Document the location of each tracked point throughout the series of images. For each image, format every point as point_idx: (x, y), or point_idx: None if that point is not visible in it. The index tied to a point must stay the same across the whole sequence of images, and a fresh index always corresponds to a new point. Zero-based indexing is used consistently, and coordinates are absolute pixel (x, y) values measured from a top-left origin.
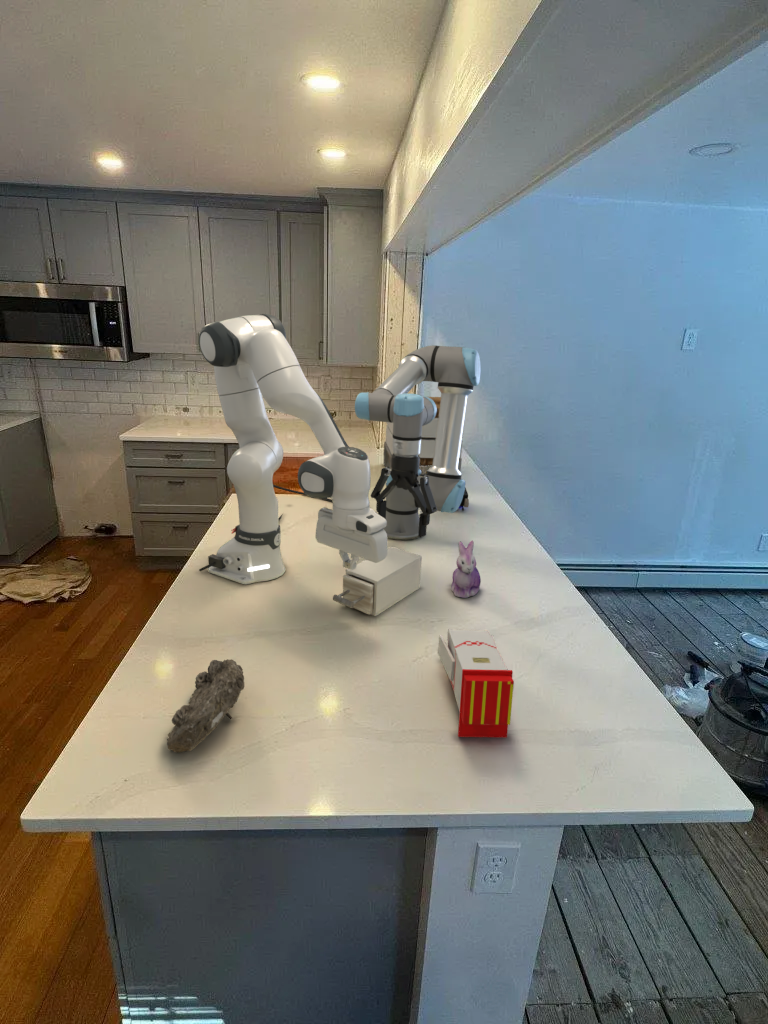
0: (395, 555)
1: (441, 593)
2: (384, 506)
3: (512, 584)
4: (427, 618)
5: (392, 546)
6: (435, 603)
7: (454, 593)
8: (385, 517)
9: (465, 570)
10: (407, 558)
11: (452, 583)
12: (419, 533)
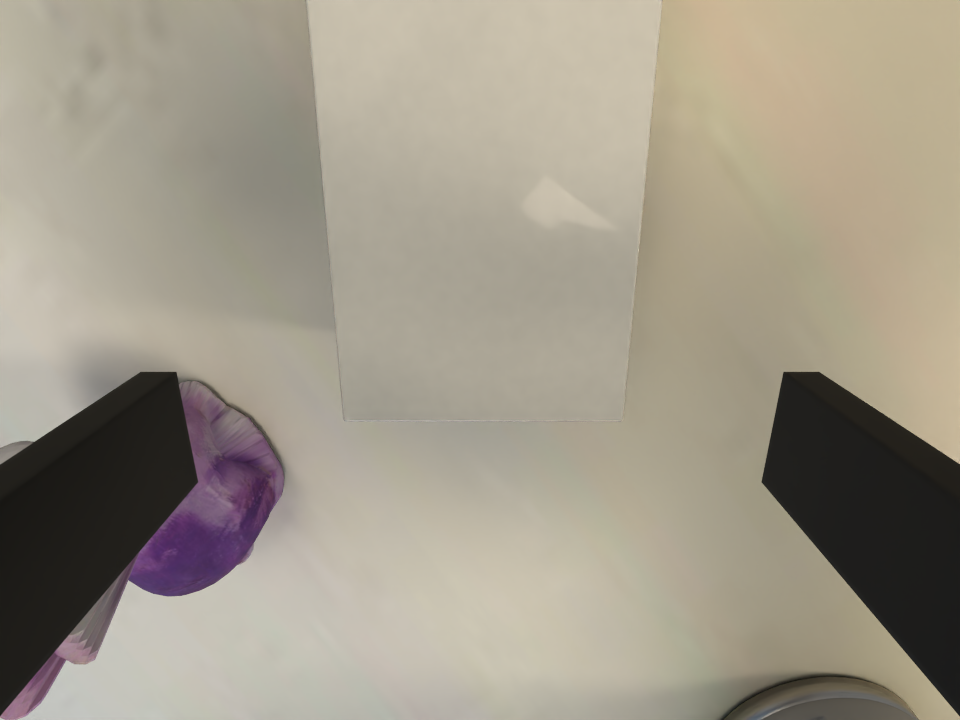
0: (500, 296)
1: (270, 363)
2: (939, 628)
3: (108, 631)
4: (136, 73)
5: (617, 419)
6: (220, 252)
7: (206, 390)
8: (799, 521)
9: (14, 445)
10: (395, 314)
11: (261, 456)
12: (131, 392)
